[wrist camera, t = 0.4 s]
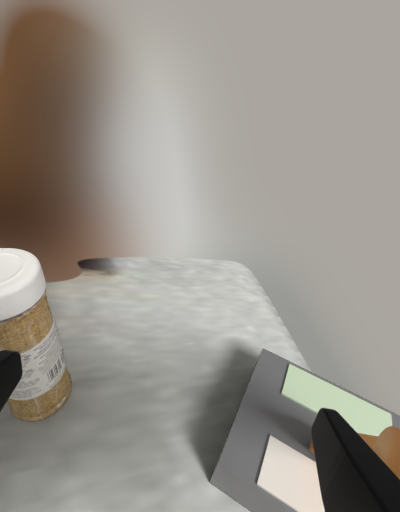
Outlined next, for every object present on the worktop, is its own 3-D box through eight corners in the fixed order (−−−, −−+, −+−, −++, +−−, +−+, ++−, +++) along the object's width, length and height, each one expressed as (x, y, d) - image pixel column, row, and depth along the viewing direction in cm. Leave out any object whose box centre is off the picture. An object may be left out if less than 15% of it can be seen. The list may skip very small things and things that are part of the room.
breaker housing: (416, 628, 15) (465, 627, 13) (209, 482, 19) (218, 462, 17) (398, 447, 22) (427, 427, 20) (253, 371, 27) (263, 346, 24)
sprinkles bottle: (40, 362, 24) (-6, 237, 17) (84, 379, 24) (57, 257, 16) (-5, 411, 21) (-90, 281, 13) (45, 434, 20) (-14, 309, 12)
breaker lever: (353, 484, 17) (540, 599, 7) (303, 455, 18) (399, 514, 8) (362, 444, 18) (537, 490, 8) (314, 418, 19) (411, 427, 9)
